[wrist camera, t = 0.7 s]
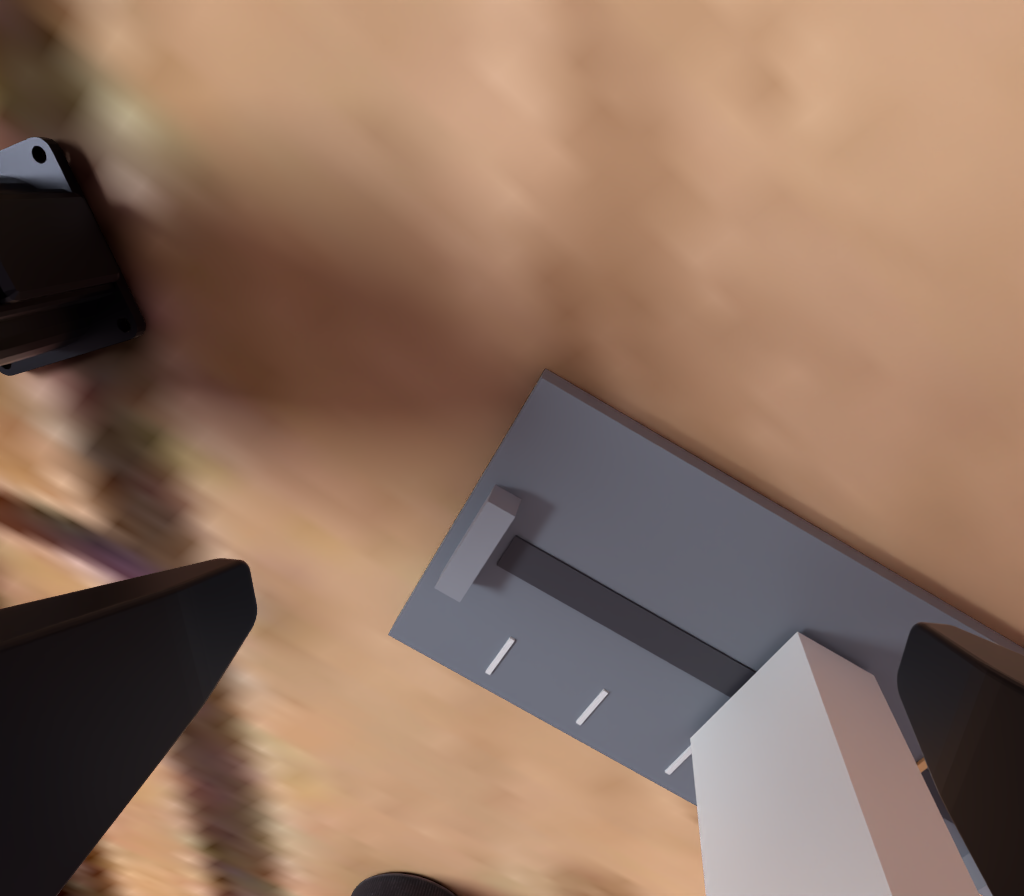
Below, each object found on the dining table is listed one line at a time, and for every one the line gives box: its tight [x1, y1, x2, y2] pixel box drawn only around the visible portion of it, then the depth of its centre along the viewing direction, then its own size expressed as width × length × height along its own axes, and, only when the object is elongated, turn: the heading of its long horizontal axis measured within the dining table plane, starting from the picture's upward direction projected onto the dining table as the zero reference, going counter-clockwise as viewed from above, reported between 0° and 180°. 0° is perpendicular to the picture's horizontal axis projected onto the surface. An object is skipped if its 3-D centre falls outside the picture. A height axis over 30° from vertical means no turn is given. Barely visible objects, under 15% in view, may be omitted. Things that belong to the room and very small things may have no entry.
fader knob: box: [690, 632, 980, 896], centre depth 18 cm, size 3×6×10 cm, turn 151°
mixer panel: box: [388, 369, 1024, 896], centre depth 22 cm, size 24×12×2 cm, turn 61°
